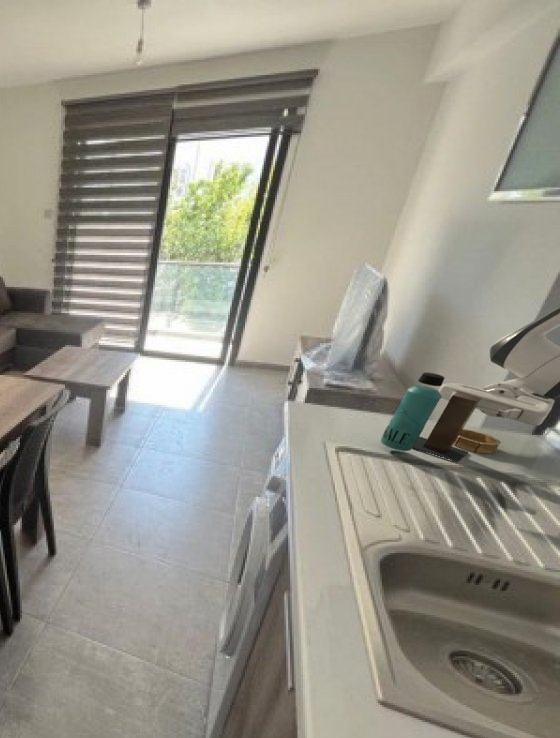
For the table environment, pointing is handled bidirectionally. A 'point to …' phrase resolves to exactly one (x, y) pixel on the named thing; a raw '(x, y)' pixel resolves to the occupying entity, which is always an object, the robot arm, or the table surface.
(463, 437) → the ring stand
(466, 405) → the peg
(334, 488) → the table surface
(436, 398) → the beverage bottle
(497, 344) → the robot arm
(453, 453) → the mat
